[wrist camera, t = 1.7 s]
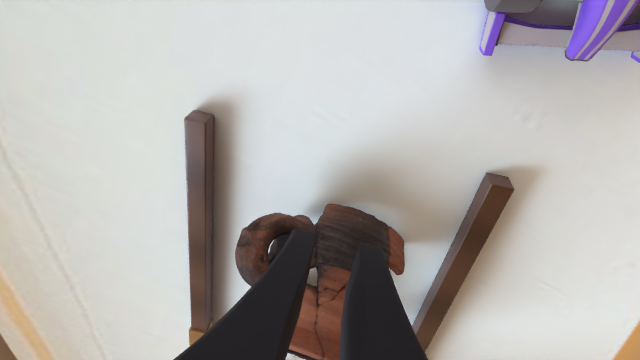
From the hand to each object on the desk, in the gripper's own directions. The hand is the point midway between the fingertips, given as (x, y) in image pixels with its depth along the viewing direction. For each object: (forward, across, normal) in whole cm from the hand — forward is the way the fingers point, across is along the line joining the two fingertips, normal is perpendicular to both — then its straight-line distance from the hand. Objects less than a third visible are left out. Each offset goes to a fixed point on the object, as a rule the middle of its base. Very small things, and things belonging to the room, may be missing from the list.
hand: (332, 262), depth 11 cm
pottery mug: (+11, 0, +9) cm, 14 cm away
